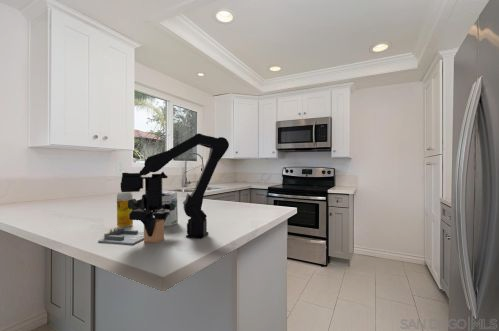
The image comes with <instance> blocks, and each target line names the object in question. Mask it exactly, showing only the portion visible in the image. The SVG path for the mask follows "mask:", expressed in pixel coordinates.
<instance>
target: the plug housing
mask: <svg viewBox="0 0 499 331" xmlns="http://www.w3.org/2000/svg"><path fill="white" fill-rule="evenodd" d="M143 232H144V240H143V241H144V243H156V244H157V243H159V242H161V241H162V240H165V226H164V220H163V219H156V222H155V226H154V230H153V234H152V236H151V237H149V236H148V234H147V231H146V229H145V226H144V225H143Z"/></svg>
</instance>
